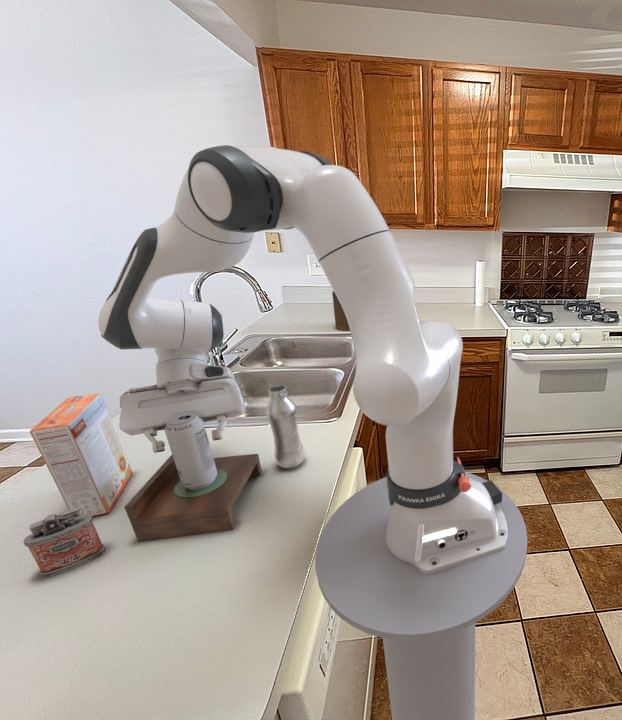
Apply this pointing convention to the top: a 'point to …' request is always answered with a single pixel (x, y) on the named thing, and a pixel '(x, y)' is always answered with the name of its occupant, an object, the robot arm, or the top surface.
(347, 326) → the wooden container
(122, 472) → the cracker box
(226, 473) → the shelf
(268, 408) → the silver metal bottle
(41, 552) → the lighter
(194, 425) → the energy drink can
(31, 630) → the top surface
